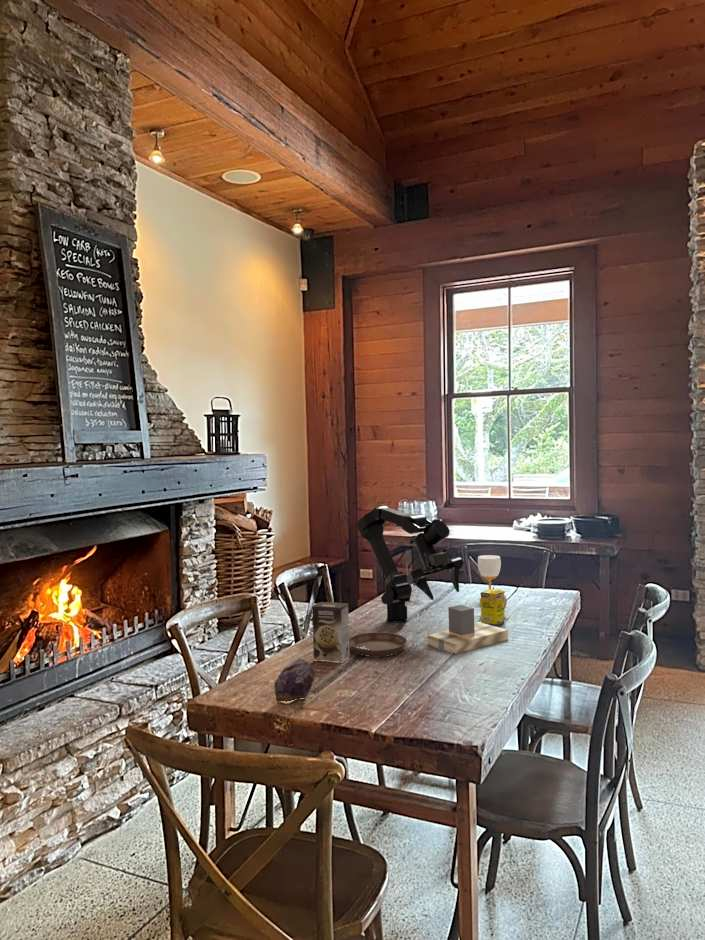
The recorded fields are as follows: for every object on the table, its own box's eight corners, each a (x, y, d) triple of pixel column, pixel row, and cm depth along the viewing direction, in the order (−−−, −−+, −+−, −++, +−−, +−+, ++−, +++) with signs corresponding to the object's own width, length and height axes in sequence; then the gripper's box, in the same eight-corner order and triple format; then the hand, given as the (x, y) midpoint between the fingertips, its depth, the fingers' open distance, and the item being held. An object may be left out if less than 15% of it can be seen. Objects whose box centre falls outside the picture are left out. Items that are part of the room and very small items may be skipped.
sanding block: (449, 633, 221) (448, 607, 220) (461, 630, 223) (461, 604, 223) (461, 637, 216) (461, 611, 215) (474, 634, 218) (473, 608, 218)
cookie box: (312, 661, 207) (310, 606, 206) (321, 655, 213) (319, 600, 212) (342, 664, 204) (340, 607, 203) (350, 657, 210) (348, 602, 209)
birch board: (455, 654, 210) (454, 643, 209) (427, 644, 219) (427, 635, 219) (508, 639, 222) (507, 629, 222) (479, 631, 232) (479, 622, 232)
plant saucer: (418, 651, 214) (418, 641, 214) (368, 663, 205) (368, 652, 205) (385, 638, 229) (385, 628, 229) (337, 648, 220) (336, 638, 220)
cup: (506, 597, 277) (505, 556, 276) (493, 602, 270) (492, 559, 269) (486, 594, 283) (485, 554, 282) (473, 599, 276) (472, 557, 276)
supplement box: (497, 627, 237) (496, 594, 236) (480, 624, 240) (479, 592, 240) (505, 622, 241) (504, 590, 241) (488, 620, 245) (488, 588, 244)
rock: (270, 708, 176) (308, 711, 173) (265, 676, 174) (304, 678, 171) (289, 685, 187) (326, 687, 183) (285, 654, 185) (321, 656, 182)
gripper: (408, 549, 225) (427, 595, 219) (460, 534, 231) (480, 579, 225) (399, 561, 234) (416, 606, 228) (449, 547, 241) (467, 590, 235)
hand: (445, 595), depth 229 cm, fingers open, 9 cm apart
